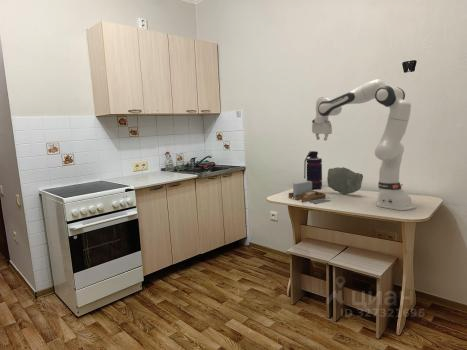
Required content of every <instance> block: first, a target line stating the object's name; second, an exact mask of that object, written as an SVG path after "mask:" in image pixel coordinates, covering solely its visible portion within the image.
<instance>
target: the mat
mask: <svg viewBox="0 0 467 350" xmlns="http://www.w3.org/2000/svg"><path fill="white" fill-rule="evenodd" d="M308 202H309V203H311V204H314V205H315V204H316V205H317V204H323V203H329V202H331V200H330V199H327V198H325V199H319V200H313V201H308Z"/></svg>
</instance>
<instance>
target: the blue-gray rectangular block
mask: <svg viewBox="0 0 467 350" xmlns="http://www.w3.org/2000/svg"><path fill="white" fill-rule="evenodd" d="M292 190H293V191H292V192H293V198H292V199H294V198H295V195H298V194H304V193H308V192H312V190H313V188H312V181H307V180H306V181H301V182H300V181H299V182H298V181H297V182H293V183H292Z"/></svg>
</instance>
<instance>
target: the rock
mask: <svg viewBox="0 0 467 350" xmlns="http://www.w3.org/2000/svg"><path fill="white" fill-rule="evenodd" d="M363 179H364V175H363V173H359V172H355V171H353V170H351V169H350V168H346V167H344V166H342V167H333V168H331V167H330V168H329V169H328V170H327V179H326V180H327V181H326V182H327V186H328V187H329V188H330V189H332V190H333V191H334V192H338V193H340V194H342V195H349V194H353V193H356V192H358V191H359V190H360V189H362V183H363V181H364V180H363Z"/></svg>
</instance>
